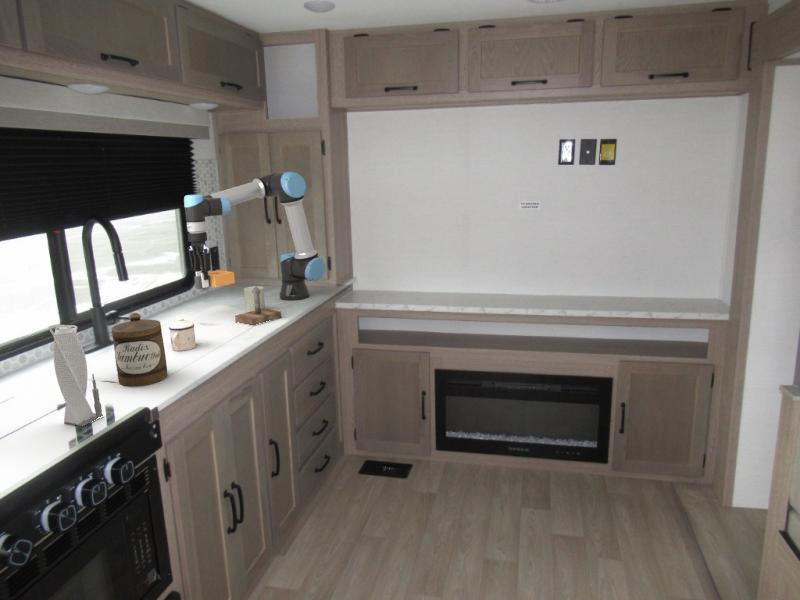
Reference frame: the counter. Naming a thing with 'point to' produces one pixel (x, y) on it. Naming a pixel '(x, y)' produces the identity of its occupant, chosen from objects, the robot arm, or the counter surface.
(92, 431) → the counter surface
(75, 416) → the skyscraper
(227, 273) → the orange gray open box
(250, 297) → the pale green upright block
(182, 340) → the teacup with lid
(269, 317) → the keeper base
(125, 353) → the wooden container
